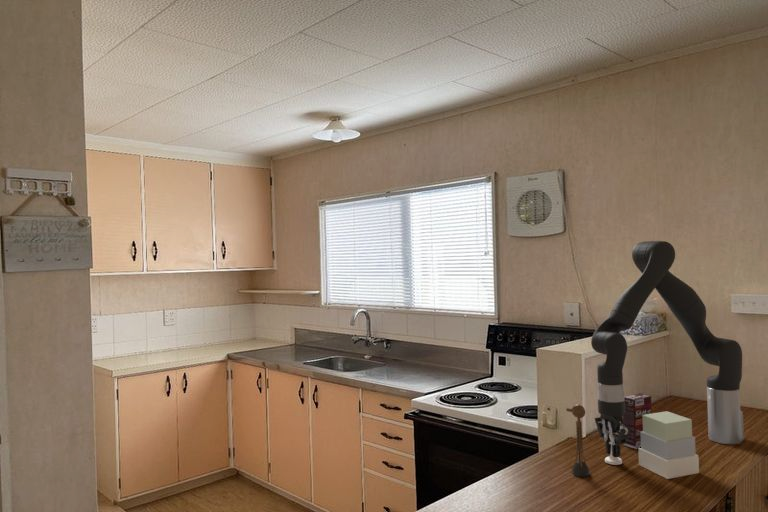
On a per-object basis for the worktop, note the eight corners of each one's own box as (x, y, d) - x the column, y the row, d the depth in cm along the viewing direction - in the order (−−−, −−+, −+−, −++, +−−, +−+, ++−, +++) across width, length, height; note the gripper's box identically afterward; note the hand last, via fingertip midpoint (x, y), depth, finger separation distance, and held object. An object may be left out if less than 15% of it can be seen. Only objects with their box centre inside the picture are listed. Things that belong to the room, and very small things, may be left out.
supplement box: (636, 449, 180) (634, 400, 180) (623, 445, 184) (621, 396, 184) (653, 444, 184) (652, 395, 184) (640, 440, 188) (639, 392, 188)
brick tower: (669, 459, 171) (667, 409, 171) (699, 472, 160) (697, 420, 160) (638, 464, 168) (637, 414, 168) (667, 478, 157) (665, 425, 157)
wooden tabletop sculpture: (565, 472, 164) (563, 404, 164) (573, 468, 167) (571, 400, 167) (584, 478, 160) (582, 407, 160) (592, 473, 163) (590, 404, 163)
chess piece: (601, 459, 173) (600, 426, 173) (617, 458, 173) (616, 425, 173) (609, 465, 168) (608, 431, 168) (625, 464, 168) (624, 430, 168)
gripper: (637, 402, 165) (640, 461, 165) (606, 391, 178) (608, 445, 178) (616, 405, 163) (618, 465, 163) (585, 393, 176) (587, 449, 176)
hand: (613, 454), depth 171 cm, fingers closed on chess piece
